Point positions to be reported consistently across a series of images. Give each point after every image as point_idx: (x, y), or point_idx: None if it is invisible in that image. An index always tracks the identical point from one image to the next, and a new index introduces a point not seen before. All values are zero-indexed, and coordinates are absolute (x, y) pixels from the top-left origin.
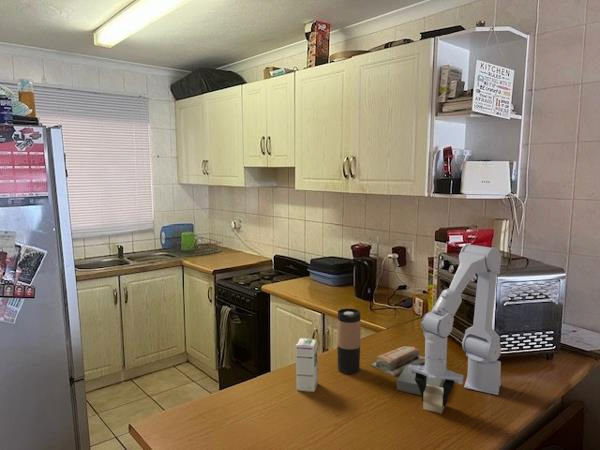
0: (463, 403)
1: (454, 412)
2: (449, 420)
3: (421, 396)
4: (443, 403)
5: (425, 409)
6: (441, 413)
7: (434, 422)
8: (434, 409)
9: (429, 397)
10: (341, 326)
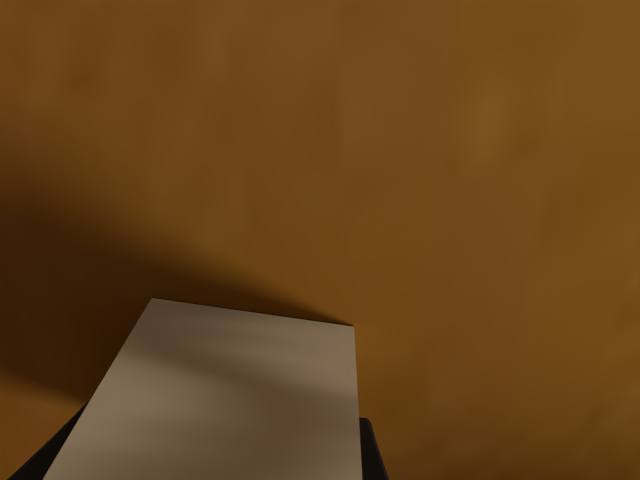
0: None
1: (42, 349)
2: (34, 192)
3: (385, 473)
4: None
5: (328, 325)
6: (154, 300)
7: (192, 84)
8: (225, 329)
9: (268, 463)
10: None
